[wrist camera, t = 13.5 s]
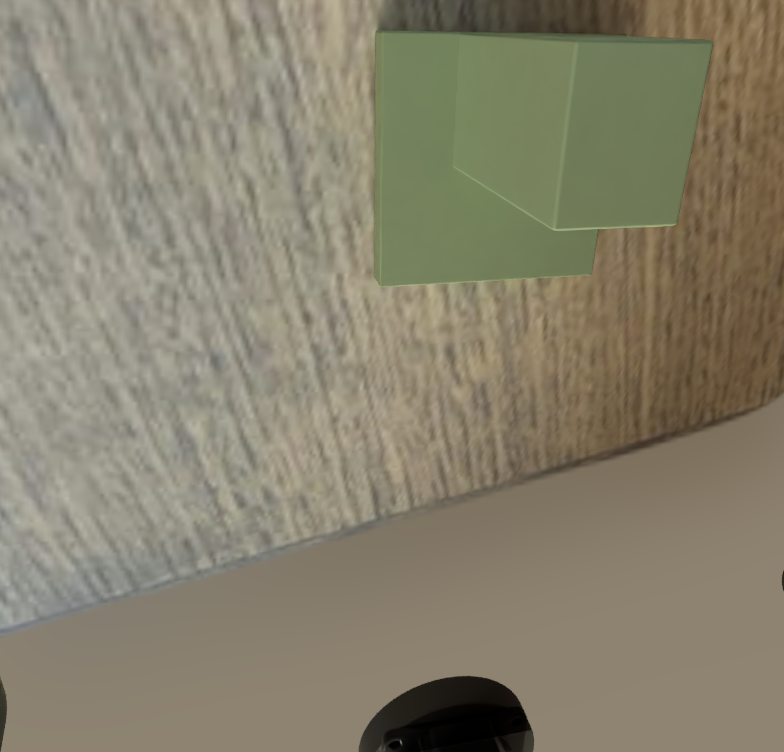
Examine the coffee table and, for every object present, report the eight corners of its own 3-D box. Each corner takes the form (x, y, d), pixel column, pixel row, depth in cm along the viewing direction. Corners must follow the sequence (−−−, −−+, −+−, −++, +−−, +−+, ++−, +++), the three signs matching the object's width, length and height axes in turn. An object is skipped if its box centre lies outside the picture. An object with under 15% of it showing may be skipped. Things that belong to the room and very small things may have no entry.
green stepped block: (579, 266, 20) (728, 370, 14) (374, 278, 19) (443, 395, 13) (612, 33, 17) (813, 40, 11) (375, 30, 16) (463, 36, 10)
